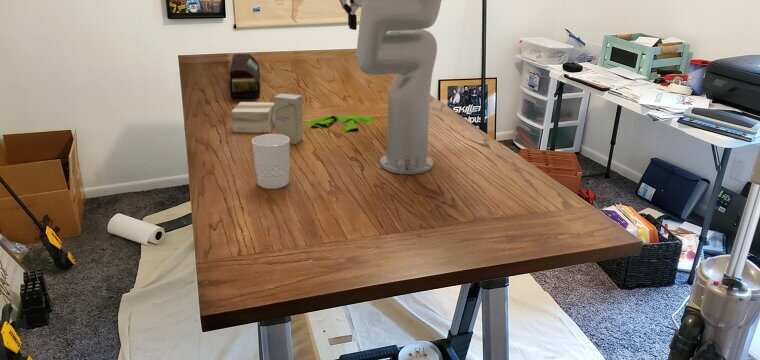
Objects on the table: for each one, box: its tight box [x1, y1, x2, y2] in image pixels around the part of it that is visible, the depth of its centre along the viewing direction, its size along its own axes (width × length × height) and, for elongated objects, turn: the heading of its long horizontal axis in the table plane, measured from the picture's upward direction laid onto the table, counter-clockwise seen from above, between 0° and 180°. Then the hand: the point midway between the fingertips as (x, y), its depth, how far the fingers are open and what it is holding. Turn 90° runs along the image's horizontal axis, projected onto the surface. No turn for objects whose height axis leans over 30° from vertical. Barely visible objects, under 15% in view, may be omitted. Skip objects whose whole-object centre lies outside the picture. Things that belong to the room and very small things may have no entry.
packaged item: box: [229, 53, 261, 99], centre depth 199 cm, size 39×10×10 cm, turn 11°
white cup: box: [251, 133, 291, 190], centre depth 121 cm, size 8×8×10 cm
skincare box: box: [273, 92, 304, 145], centre depth 146 cm, size 6×4×12 cm
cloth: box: [302, 114, 375, 133], centre depth 162 cm, size 20×22×2 cm
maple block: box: [231, 101, 275, 134], centre depth 158 cm, size 10×10×6 cm
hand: (368, 28), depth 155 cm, fingers open, 9 cm apart
